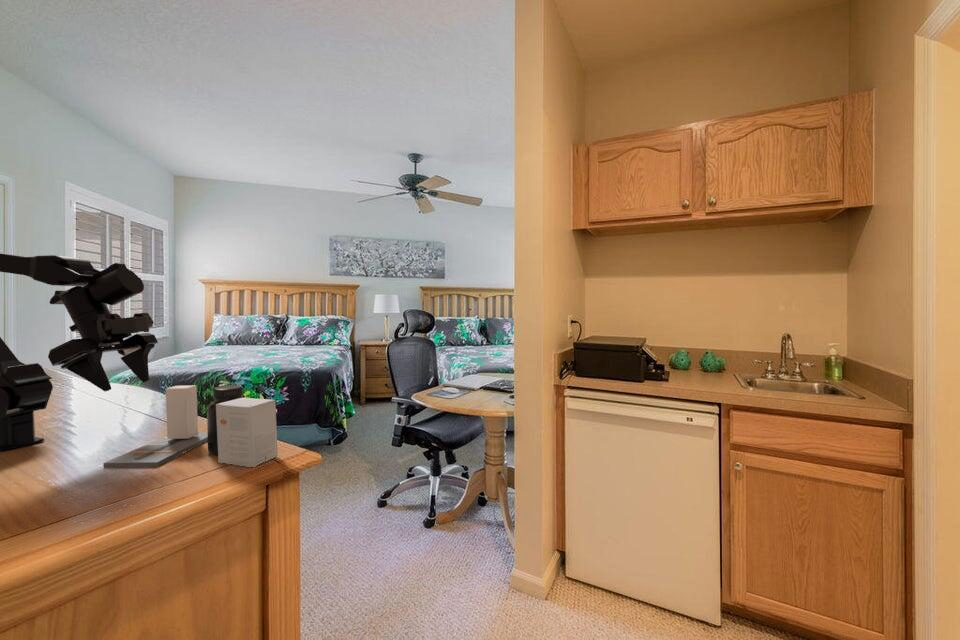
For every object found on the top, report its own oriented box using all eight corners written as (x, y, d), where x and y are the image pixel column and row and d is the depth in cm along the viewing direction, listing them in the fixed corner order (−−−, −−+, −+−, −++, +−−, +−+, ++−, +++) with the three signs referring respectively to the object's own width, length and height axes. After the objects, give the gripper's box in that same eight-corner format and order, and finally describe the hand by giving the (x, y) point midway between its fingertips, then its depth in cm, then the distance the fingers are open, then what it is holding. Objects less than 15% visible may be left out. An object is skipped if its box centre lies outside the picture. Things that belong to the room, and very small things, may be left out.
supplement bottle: (230, 457, 75) (228, 391, 75) (198, 455, 77) (196, 390, 76) (258, 444, 82) (256, 384, 82) (228, 442, 83) (226, 383, 83)
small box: (278, 457, 75) (276, 399, 75) (252, 468, 70) (250, 406, 70) (244, 452, 78) (243, 396, 77) (217, 463, 73) (215, 403, 72)
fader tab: (178, 434, 85) (176, 385, 85) (197, 433, 85) (196, 385, 85) (167, 438, 82) (165, 388, 82) (188, 438, 82) (186, 388, 82)
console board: (174, 436, 88) (174, 428, 88) (217, 435, 88) (217, 428, 88) (103, 467, 71) (103, 458, 71) (157, 466, 71) (156, 457, 71)
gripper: (84, 296, 73) (126, 376, 74) (162, 298, 92) (195, 361, 92) (27, 324, 73) (69, 403, 74) (117, 320, 92) (150, 383, 92)
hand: (128, 385), depth 83 cm, fingers open, 9 cm apart
